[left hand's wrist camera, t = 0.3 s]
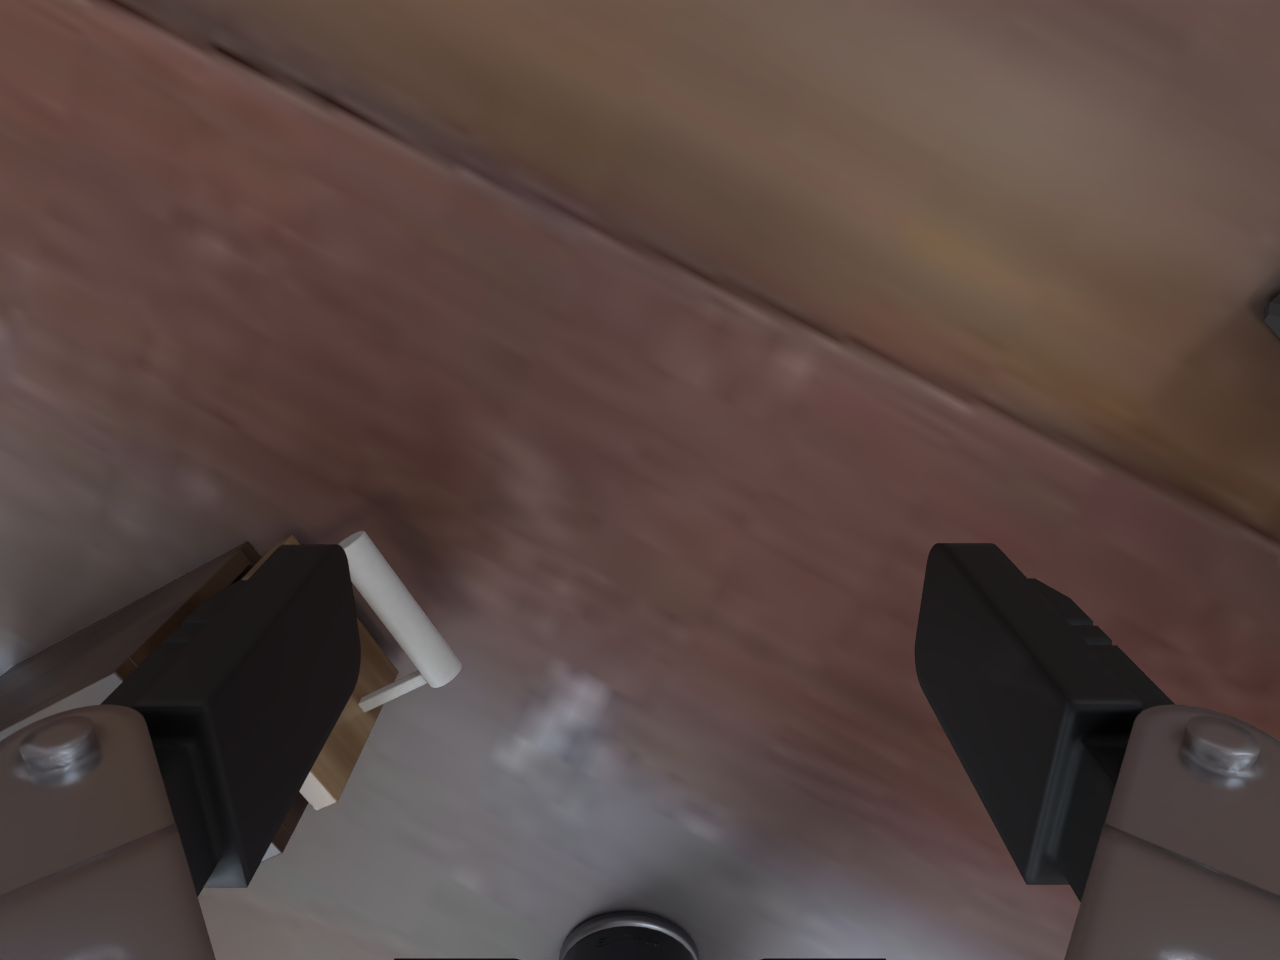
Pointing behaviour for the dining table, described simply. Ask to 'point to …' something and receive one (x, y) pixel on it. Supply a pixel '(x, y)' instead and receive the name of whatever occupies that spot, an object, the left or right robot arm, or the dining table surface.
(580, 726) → the dining table surface
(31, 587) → the dining table surface
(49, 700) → the cabinet
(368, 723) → the drawer
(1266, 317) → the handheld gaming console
